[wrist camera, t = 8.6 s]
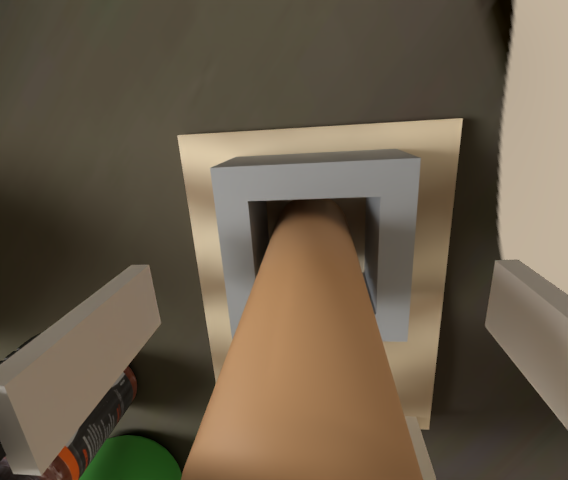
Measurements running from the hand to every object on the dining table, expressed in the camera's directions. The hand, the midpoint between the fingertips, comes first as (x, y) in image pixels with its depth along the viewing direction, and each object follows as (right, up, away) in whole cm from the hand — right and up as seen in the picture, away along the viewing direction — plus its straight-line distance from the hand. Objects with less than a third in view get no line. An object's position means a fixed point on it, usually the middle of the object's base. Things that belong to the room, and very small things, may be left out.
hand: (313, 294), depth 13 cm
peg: (+1, +3, +8) cm, 8 cm away
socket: (+1, +3, +8) cm, 8 cm away
